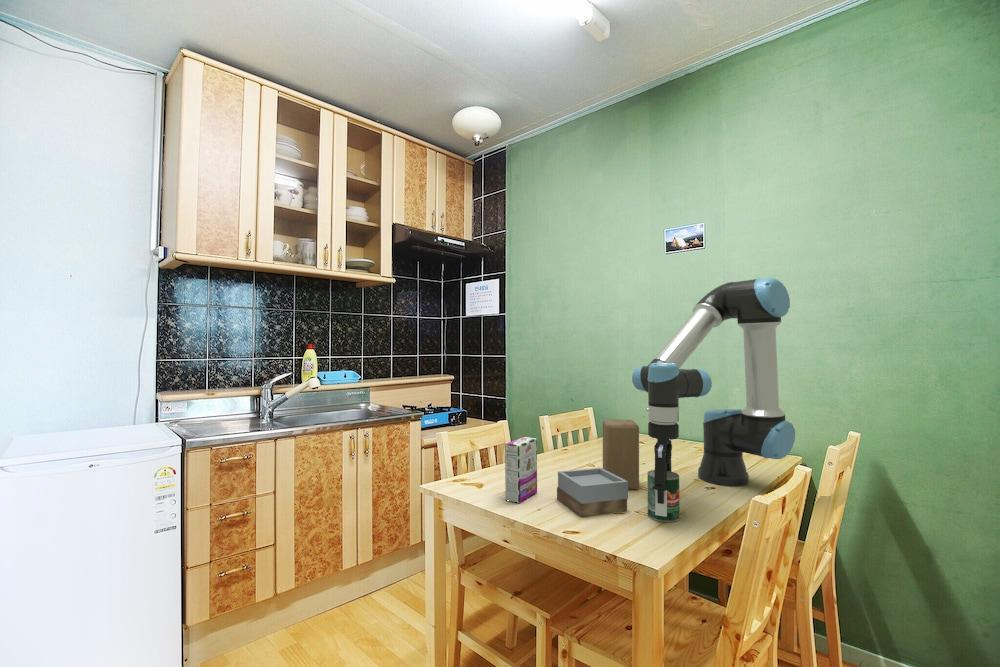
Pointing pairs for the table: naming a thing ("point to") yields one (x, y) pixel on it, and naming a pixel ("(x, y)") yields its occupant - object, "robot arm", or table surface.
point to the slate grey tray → (592, 485)
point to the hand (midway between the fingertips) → (663, 509)
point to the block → (621, 450)
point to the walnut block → (591, 505)
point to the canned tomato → (672, 497)
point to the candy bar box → (521, 469)
